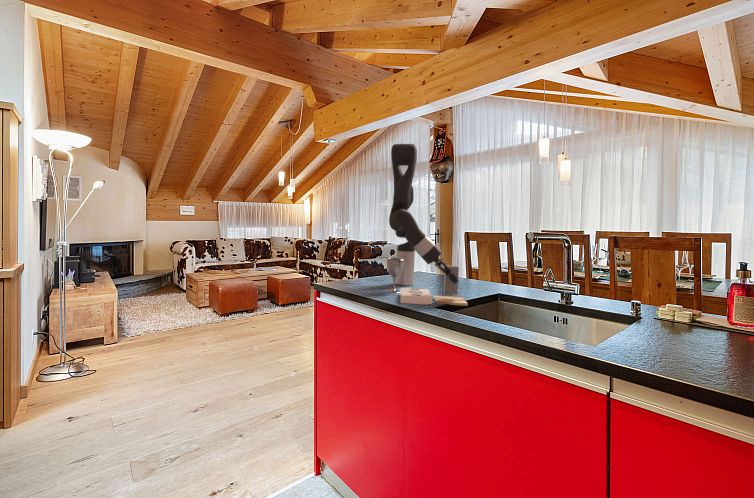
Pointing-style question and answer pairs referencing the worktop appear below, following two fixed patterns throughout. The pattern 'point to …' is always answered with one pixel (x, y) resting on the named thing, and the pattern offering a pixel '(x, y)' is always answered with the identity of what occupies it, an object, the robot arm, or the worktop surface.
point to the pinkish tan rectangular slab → (416, 296)
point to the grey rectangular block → (448, 284)
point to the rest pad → (450, 300)
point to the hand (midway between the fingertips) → (455, 281)
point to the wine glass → (394, 270)
